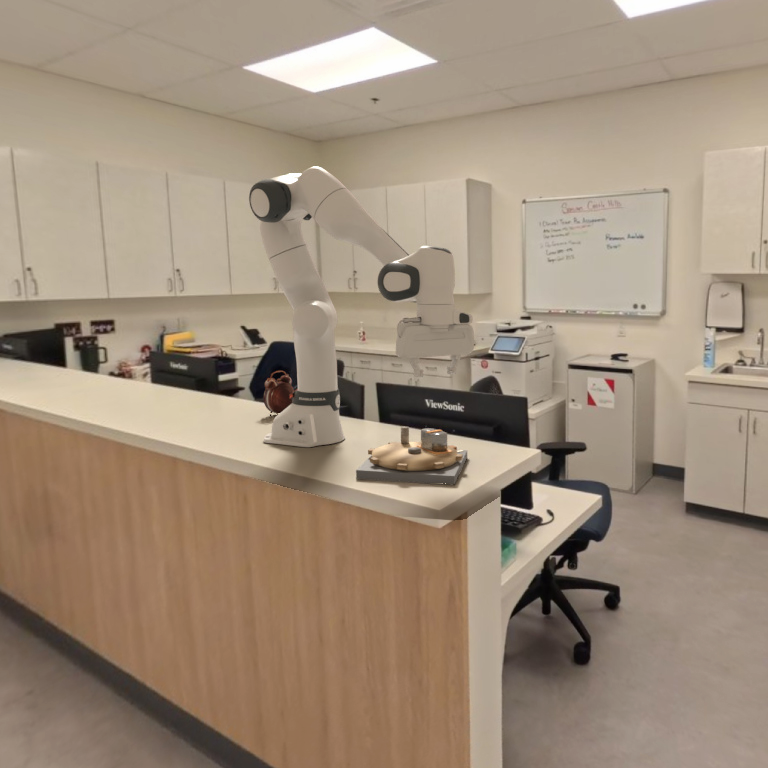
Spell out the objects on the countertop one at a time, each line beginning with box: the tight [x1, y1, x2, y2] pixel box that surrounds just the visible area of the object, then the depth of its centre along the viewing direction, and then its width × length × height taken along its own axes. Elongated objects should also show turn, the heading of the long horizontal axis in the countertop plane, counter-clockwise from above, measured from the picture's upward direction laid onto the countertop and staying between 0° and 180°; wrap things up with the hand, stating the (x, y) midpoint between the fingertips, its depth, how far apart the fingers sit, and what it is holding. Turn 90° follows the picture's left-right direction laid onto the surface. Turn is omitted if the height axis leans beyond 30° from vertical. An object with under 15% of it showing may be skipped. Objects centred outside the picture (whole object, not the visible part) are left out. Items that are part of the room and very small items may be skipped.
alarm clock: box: [263, 370, 295, 415], centre depth 213 cm, size 11×5×15 cm, turn 141°
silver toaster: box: [420, 427, 448, 452], centre depth 152 cm, size 8×4×4 cm, turn 30°
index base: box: [355, 449, 468, 485], centre depth 150 cm, size 22×22×2 cm
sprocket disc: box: [367, 426, 463, 471], centre depth 149 cm, size 22×22×6 cm
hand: (435, 375), depth 151 cm, fingers open, 8 cm apart
